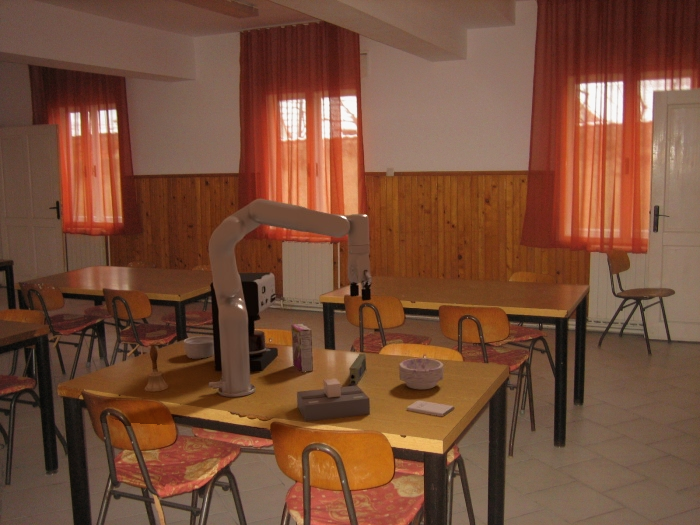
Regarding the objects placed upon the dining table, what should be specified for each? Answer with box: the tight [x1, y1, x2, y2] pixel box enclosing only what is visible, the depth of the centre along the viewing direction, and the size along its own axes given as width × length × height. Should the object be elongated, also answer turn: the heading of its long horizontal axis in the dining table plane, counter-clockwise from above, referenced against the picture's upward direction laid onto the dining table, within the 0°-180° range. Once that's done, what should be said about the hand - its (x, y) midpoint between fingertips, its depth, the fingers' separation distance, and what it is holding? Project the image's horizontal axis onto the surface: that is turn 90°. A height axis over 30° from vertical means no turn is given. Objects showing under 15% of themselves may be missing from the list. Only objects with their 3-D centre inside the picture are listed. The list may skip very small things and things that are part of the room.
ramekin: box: [183, 335, 214, 360], centre depth 289 cm, size 13×13×7 cm
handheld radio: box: [348, 353, 367, 386], centre depth 248 cm, size 7×3×25 cm
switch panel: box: [296, 384, 371, 422], centre depth 215 cm, size 20×14×5 cm
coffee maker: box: [209, 272, 279, 373], centre depth 271 cm, size 28×20×35 cm
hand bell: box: [144, 343, 169, 393], centre depth 244 cm, size 8×8×16 cm
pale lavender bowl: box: [398, 357, 444, 391], centre depth 238 cm, size 15×15×8 cm
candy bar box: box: [290, 323, 314, 373], centre depth 264 cm, size 11×5×16 cm, turn 22°
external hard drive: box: [406, 399, 455, 417], centre depth 214 cm, size 2×8×12 cm
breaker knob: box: [323, 377, 342, 398], centre depth 215 cm, size 4×6×4 cm, turn 14°
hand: (360, 298), depth 242 cm, fingers open, 9 cm apart
